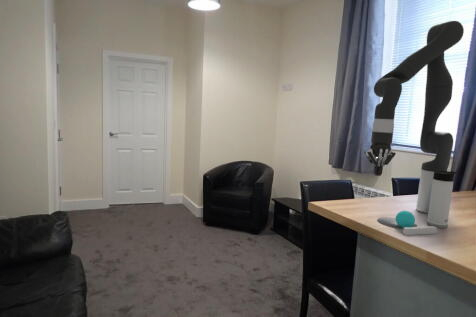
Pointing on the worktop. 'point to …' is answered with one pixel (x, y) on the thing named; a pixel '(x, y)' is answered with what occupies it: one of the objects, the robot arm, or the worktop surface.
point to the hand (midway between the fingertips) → (377, 175)
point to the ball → (405, 219)
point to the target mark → (391, 222)
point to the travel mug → (440, 199)
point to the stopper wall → (420, 230)
